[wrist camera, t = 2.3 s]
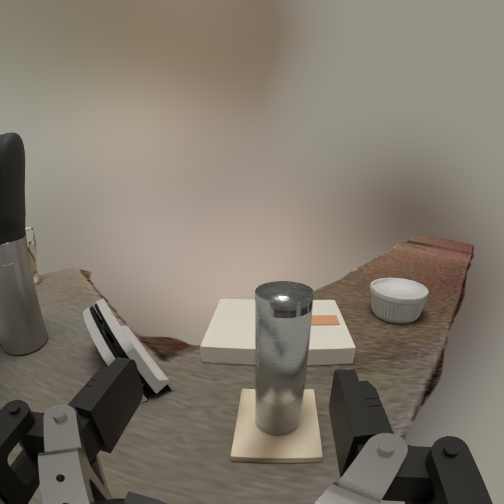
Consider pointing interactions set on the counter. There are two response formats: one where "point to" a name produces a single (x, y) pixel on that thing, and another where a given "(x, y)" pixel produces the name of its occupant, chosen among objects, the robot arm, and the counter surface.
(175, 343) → the counter surface
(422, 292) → the ramekin
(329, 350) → the hole plate
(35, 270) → the beer glass
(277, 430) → the grey capped tube
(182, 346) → the counter surface
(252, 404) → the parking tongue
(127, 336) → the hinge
